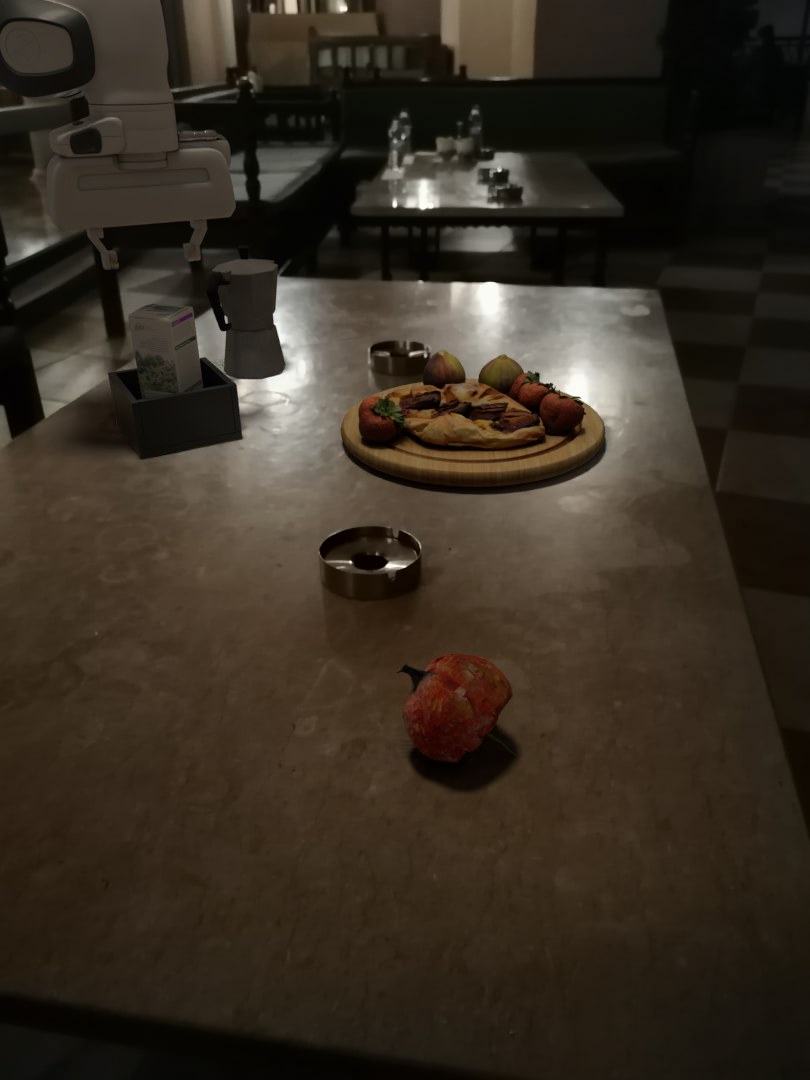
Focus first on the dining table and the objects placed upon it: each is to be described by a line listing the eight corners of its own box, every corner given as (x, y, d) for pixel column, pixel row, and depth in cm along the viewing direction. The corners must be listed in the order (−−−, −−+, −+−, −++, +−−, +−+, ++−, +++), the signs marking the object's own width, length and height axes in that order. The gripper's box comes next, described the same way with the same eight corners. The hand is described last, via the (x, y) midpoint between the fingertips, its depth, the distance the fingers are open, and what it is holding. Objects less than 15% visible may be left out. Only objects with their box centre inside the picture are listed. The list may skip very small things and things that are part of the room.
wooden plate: (369, 509, 95) (366, 435, 91) (323, 405, 122) (319, 345, 118) (651, 475, 101) (660, 404, 97) (547, 383, 128) (550, 325, 124)
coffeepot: (254, 353, 143) (243, 234, 134) (305, 361, 139) (297, 239, 130) (192, 383, 131) (175, 254, 122) (246, 392, 127) (233, 260, 118)
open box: (140, 459, 107) (131, 403, 103) (117, 425, 117) (107, 372, 113) (242, 438, 112) (236, 384, 109) (211, 407, 122) (205, 356, 118)
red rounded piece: (505, 739, 66) (403, 649, 66) (567, 699, 61) (457, 601, 61) (465, 815, 61) (354, 718, 61) (529, 778, 56) (408, 671, 56)
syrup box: (209, 418, 115) (195, 304, 108) (184, 435, 111) (168, 317, 104) (170, 413, 117) (154, 301, 110) (144, 429, 112) (125, 313, 105)
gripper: (219, 126, 104) (230, 250, 111) (32, 134, 96) (57, 267, 103) (237, 131, 99) (248, 260, 106) (42, 139, 91) (67, 279, 98)
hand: (152, 264), depth 104 cm, fingers open, 8 cm apart
